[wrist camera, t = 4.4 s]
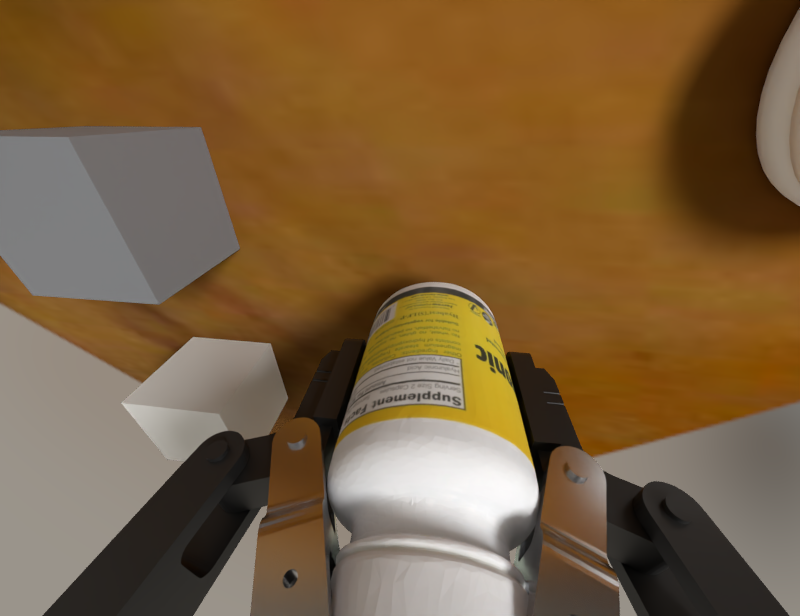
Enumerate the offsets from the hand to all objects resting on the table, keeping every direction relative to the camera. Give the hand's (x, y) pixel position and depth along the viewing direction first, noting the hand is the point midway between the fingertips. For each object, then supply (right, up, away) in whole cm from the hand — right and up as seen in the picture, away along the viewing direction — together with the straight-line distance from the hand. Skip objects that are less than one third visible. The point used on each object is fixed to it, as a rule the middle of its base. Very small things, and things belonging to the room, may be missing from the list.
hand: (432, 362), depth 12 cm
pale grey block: (-12, -2, +8) cm, 14 cm away
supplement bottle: (0, +1, +2) cm, 2 cm away
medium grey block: (-12, +7, +2) cm, 14 cm away
